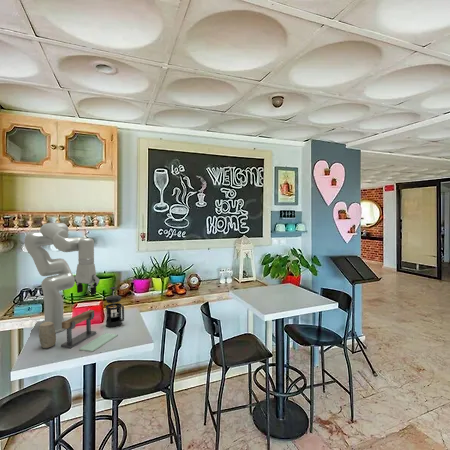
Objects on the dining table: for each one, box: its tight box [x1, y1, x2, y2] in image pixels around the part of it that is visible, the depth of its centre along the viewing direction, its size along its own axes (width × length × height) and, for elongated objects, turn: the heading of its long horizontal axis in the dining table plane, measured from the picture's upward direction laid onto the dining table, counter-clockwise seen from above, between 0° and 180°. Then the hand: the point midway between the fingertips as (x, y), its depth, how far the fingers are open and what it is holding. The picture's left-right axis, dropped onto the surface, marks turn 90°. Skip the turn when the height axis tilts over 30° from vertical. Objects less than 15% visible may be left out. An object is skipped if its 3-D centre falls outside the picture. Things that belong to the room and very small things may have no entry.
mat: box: [78, 332, 119, 353], centre depth 154 cm, size 8×20×1 cm, turn 165°
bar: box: [62, 309, 95, 330], centre depth 157 cm, size 3×20×3 cm, turn 165°
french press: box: [105, 286, 125, 329], centre depth 178 cm, size 12×9×23 cm
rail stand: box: [60, 311, 97, 349], centre depth 157 cm, size 6×19×12 cm, turn 165°
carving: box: [38, 322, 57, 349], centre depth 150 cm, size 6×8×12 cm
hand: (86, 293), depth 157 cm, fingers open, 9 cm apart
